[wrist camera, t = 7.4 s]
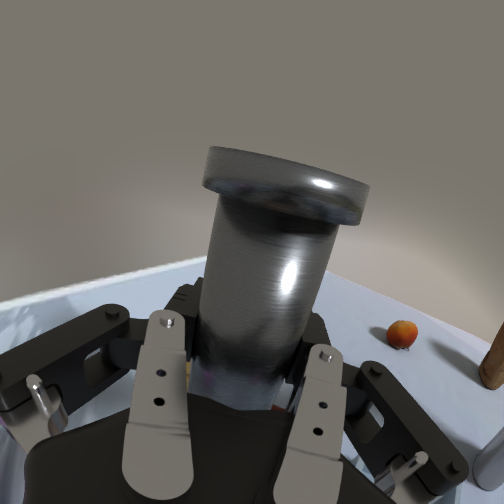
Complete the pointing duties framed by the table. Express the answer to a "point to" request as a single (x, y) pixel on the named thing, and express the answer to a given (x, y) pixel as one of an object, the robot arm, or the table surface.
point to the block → (494, 363)
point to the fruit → (402, 334)
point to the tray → (450, 500)
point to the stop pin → (263, 270)
